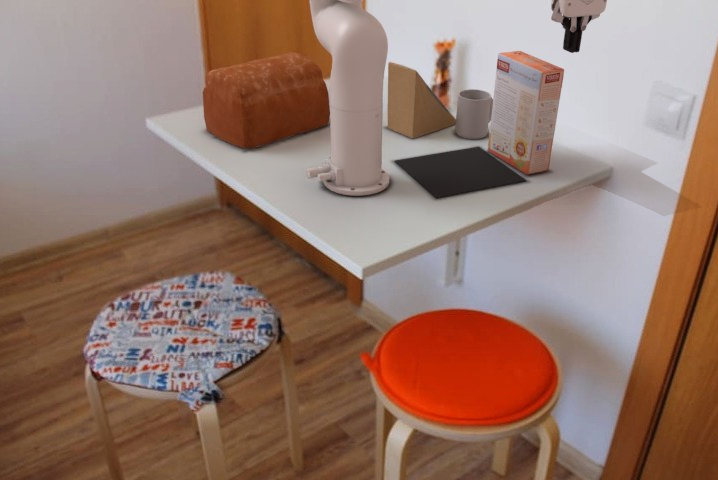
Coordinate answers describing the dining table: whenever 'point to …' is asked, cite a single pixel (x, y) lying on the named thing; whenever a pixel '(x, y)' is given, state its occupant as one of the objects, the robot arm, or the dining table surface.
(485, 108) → the cup
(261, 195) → the dining table surface
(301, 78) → the bread
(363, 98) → the robot arm
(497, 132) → the cracker box
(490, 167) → the mat
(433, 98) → the sandwich container
